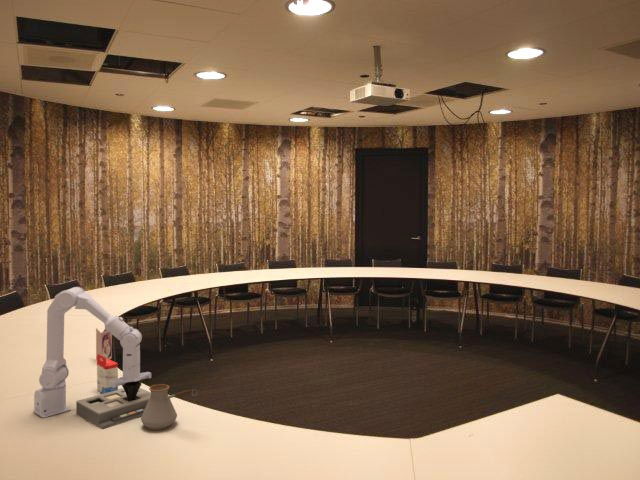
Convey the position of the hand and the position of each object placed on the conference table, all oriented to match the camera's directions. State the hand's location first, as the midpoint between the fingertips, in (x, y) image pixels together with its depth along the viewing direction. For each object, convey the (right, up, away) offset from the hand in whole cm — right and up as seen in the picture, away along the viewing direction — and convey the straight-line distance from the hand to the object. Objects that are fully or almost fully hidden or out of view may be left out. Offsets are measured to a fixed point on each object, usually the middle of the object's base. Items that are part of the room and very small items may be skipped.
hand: (131, 402), depth 181 cm
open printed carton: (-36, +1, +57) cm, 67 cm away
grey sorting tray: (-4, -3, -1) cm, 5 cm away
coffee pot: (+18, -4, -14) cm, 23 cm away
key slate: (-3, 0, +7) cm, 7 cm away
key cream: (-4, -1, -5) cm, 7 cm away
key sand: (-7, 0, +2) cm, 7 cm away
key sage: (-11, -1, -3) cm, 12 cm away
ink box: (-16, -2, +19) cm, 25 cm away
